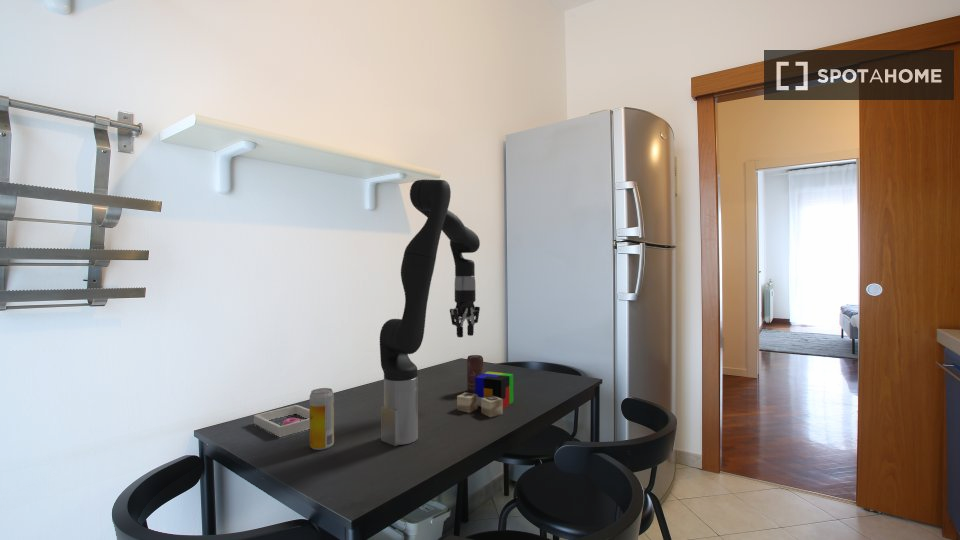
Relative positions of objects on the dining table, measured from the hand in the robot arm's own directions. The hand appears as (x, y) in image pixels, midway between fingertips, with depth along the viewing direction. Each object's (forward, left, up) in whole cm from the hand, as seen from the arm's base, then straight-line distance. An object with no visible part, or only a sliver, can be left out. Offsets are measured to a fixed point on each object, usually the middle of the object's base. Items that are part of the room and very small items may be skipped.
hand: (465, 336), depth 158 cm
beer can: (-55, +2, -24) cm, 60 cm away
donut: (-52, +22, -24) cm, 61 cm away
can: (+11, +5, -24) cm, 27 cm away
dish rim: (-53, +24, -23) cm, 63 cm away
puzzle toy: (+4, -10, -24) cm, 26 cm away
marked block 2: (-5, -16, -23) cm, 29 cm away
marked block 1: (-7, -7, -23) cm, 25 cm away
